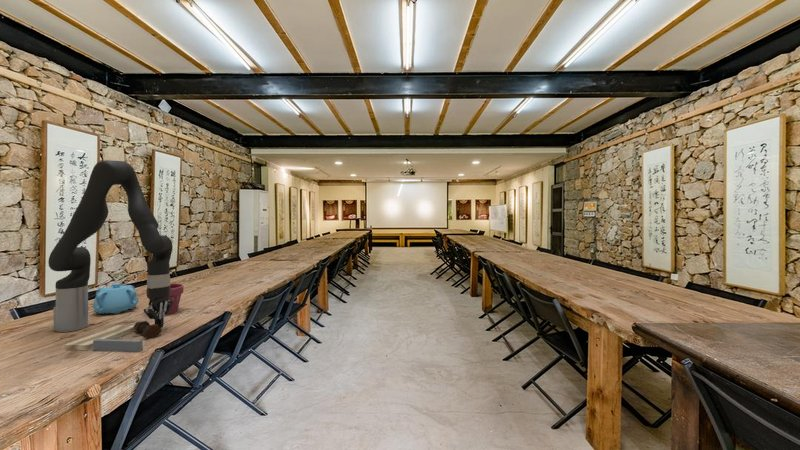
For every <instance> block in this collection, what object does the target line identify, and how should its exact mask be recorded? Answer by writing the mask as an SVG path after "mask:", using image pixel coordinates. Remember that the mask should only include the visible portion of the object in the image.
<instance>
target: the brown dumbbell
mask: <svg viewBox="0 0 800 450" xmlns="http://www.w3.org/2000/svg"><path fill="white" fill-rule="evenodd" d="M133 326H134V328H135V330H136V331H135V332H137V334H139V335H140V334H142V335H143V336H144V337H145V338H146V339H147V340H152V339H155V338H158V337H159V336H160V334H161V333H162V328H160V327H159V326H158V325H157V324H155V323H154V324H150V322H148V321H147V320H142V321H137V322H136V323H135V324H134V325H133Z"/></svg>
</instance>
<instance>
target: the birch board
mask: <svg viewBox="0 0 800 450" xmlns="http://www.w3.org/2000/svg"><path fill="white" fill-rule="evenodd" d="M134 332H137V331H136V330H135V328H134V325H131V324H130V325H125V324H123V325H121V324H117V325H115V326H112V327H109V328H107V329H104V330H101V331H98V332H96V333H92V334H91V335H87V336H84V337H82V338H80V339H77V340H74V341H71V342H69V343H66V344H64V350H65V351H89V350H92V349H93V340H96V339H120V338H122V337H123V336H126V335H129V334H131V333H134Z"/></svg>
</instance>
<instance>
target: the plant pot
mask: <svg viewBox="0 0 800 450" xmlns="http://www.w3.org/2000/svg"><path fill="white" fill-rule="evenodd" d="M183 293H184V284H182V283H170V296H168V298H169V301H173V304H172V306H171V308H170V311H169V313H168V315H173V314H176V313H177V312H178V309H179V305H180V301H181V298H182V294H183ZM146 295H147V289H146Z"/></svg>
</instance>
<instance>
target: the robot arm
mask: <svg viewBox="0 0 800 450" xmlns="http://www.w3.org/2000/svg"><path fill="white" fill-rule="evenodd" d="M115 185H119V186H121V187H122V188H123V191H125V194H126V197H127V212H128V216H129V218H130V220H131V222H132V223H133V225H134V226H135V229H136V230H137V232H138V236H139V239H140V242H141V244H142V247H143V248H144V250H145V251H147V252H148V253H149V254H151V259H150V260H149V261H148V263H147V279H146V290H147V294H146V297H147V299H148V300H149V302H148V307H146V308H144V309H143V312H144V314H145V315H146V316H147V317H148V318H149V319H150V320H154V324H157V325H158V326H159V327H160V328H161V329H162V328H163V327H164V323H165V322H164V320H165V319H164V318H165V317H166V316H167V315H168V313H169V311H170V308H171V306H172V304H173V301H169V298H168V296H170V284H171V276H170V275H171V273H170V268H171V267H170V261H171V257H172V252H173V242H172V239H171V238H170V237H169V236H167V235H161V234H160V232H159V230H158V229H159V226H160V225H159V223H158V220H157V219H156V217H155V215H154V214H153V212H152V211H151V209H150V207H149V205H148V203H147V200H146V198H145V196H144V192H143V190H142V187H141V184H140V182H139V179H138V175H137V173H136V172H135V170H134V168H133V166H132V165H131V164H130V163H128V162H127V161H123V160H110V159H109V160H106V159H105V160H101V161H98V162H97V163H96V164H94V166H93V168H92V171H91V173H90V175H89V179H88V182H87V185H86V189H85V191H84V193H83V195H82V197H81V199H80V201H79V204H78V205H77V207H76V209H75V211H74V213H73V214H72V217H71V219H70V222H69V223H68V225H67V227H66V229H65V231H64V233H63V234H62V236H61V237H60V239H59V240H58V242H57V243H56V245H55V246H54V247H53V249H52V251H51V252H50V255H49V257H48V261H47V262H48V267H49V269H50V270H52V271H54V272H68V271H70V273H69V274H68V275H66V276H65V277H63V278H60V279H59V280H56V282H55V306H54V307H52V308H53V309H52V311H53V312H52V313H53V316H52V317H53V318H52V319H53V331H56V332H57V333H66V332H67V333H68V332H74V331H75V332H76V331H78V330H82V329H85V328H87V327H89V280H90V277H91V275H90V274H91V263H92V262H91V260H92V259H91V253H90V250H89V249H87V248H86V247H83V246H79V245H80V244H81V243H83V242H84V241H86V240H87V239H89V238H90V237H91V236H93V235H95V234H96V233H97V232H99V231H100V230H101V229H102V228H103V225H104V224H105V221H106V220H107V218H108V215H109V208H108V207H109V206H108V204H107V197H108V193H109V191H110V189H111V188H112V187H113V186H115Z"/></svg>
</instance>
